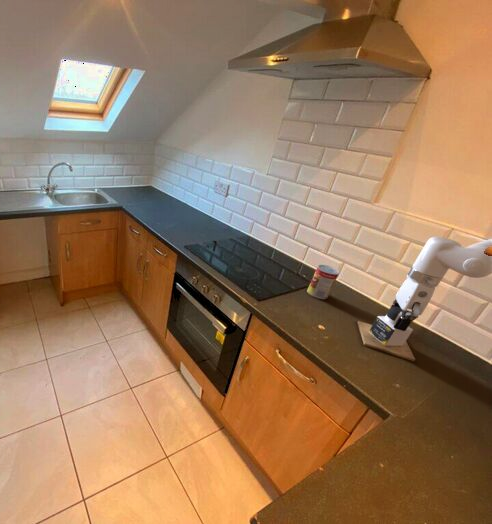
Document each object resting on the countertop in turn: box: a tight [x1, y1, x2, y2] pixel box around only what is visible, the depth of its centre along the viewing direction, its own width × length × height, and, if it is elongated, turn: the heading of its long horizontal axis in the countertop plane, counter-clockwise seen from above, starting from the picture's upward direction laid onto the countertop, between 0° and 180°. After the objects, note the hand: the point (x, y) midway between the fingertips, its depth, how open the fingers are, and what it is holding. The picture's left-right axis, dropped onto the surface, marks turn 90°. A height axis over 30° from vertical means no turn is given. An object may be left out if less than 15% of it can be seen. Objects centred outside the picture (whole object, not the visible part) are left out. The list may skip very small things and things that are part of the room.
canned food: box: [306, 264, 340, 300], centre depth 125 cm, size 8×8×12 cm
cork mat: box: [357, 320, 416, 362], centre depth 103 cm, size 14×14×1 cm
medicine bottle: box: [369, 306, 414, 346], centre depth 100 cm, size 7×7×12 cm
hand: (395, 321), depth 100 cm, fingers closed on medicine bottle, 7 cm apart
